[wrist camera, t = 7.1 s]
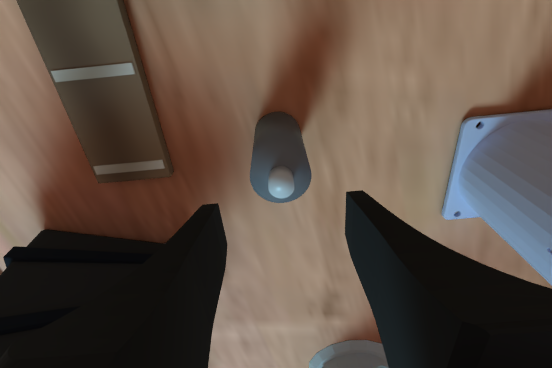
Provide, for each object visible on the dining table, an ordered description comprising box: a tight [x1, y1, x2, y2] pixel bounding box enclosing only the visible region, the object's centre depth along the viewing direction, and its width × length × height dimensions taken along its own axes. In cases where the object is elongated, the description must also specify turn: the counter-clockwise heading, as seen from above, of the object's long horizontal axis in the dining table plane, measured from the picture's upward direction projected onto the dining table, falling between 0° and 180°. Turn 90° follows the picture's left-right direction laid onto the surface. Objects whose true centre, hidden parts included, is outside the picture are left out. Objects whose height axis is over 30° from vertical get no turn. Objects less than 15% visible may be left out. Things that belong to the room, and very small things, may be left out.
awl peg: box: [250, 112, 311, 203], centre depth 17 cm, size 3×3×7 cm
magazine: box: [0, 230, 164, 358], centre depth 20 cm, size 4×13×15 cm, turn 79°
